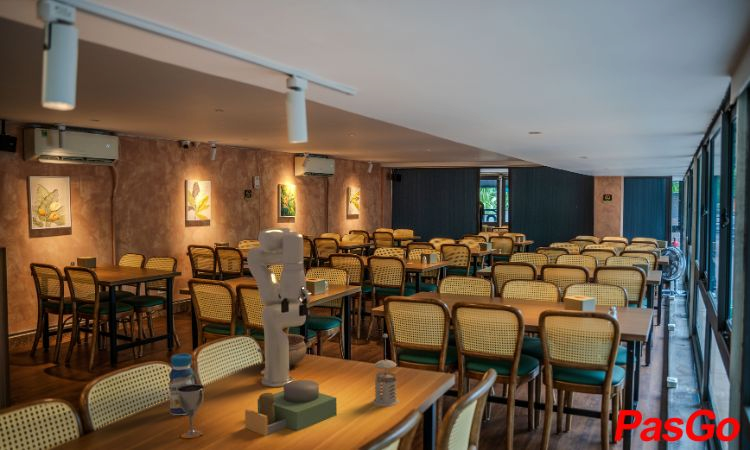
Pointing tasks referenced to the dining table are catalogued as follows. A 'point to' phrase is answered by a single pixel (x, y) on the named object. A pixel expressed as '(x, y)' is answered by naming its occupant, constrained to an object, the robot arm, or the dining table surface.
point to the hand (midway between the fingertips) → (293, 313)
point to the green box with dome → (294, 408)
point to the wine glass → (191, 402)
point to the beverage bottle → (179, 380)
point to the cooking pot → (294, 348)
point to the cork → (267, 407)
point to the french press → (387, 387)
